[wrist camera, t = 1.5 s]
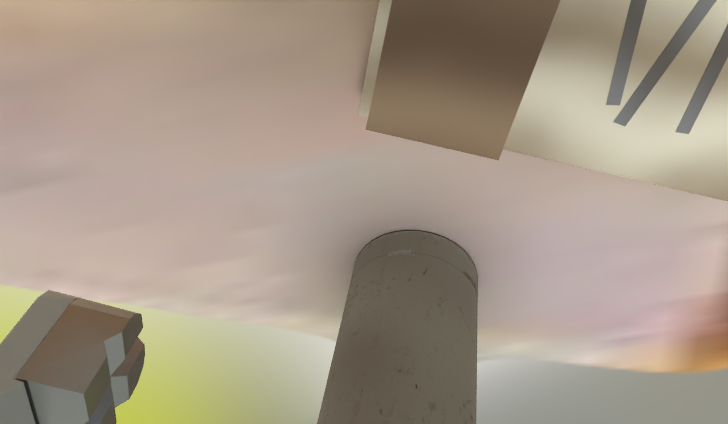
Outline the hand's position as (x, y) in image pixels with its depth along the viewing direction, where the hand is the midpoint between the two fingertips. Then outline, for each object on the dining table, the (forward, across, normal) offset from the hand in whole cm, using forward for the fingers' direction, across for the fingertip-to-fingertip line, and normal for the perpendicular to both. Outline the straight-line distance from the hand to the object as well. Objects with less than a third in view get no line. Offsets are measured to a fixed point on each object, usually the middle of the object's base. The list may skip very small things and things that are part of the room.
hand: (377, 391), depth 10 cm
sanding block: (+20, -1, 0) cm, 20 cm away
